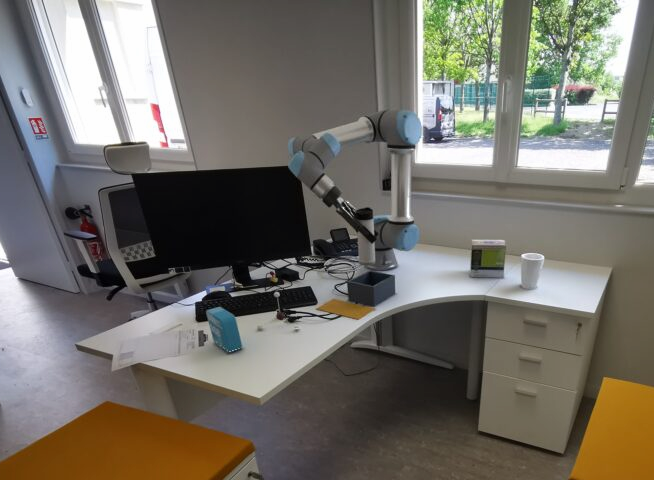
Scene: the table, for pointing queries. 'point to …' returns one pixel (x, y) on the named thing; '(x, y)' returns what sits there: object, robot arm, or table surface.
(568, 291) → the table surface
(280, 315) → the molecular model
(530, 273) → the foam cup
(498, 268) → the tea box
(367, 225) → the travel mug
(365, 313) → the desk mat
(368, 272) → the bin
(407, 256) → the table surface
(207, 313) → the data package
